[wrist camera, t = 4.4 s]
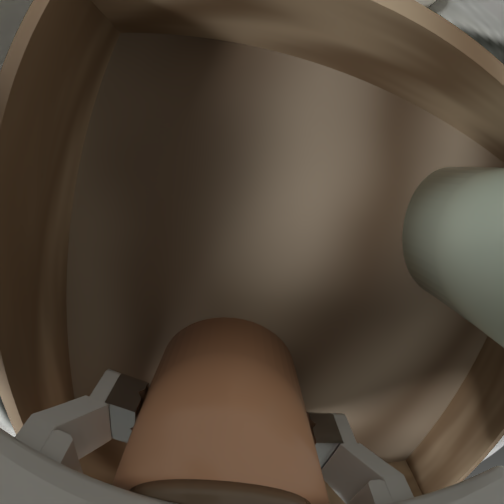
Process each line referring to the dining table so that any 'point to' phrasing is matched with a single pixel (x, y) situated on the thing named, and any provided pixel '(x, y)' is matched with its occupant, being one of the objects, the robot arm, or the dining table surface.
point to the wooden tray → (245, 207)
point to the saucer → (425, 2)
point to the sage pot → (460, 243)
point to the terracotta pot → (224, 423)
